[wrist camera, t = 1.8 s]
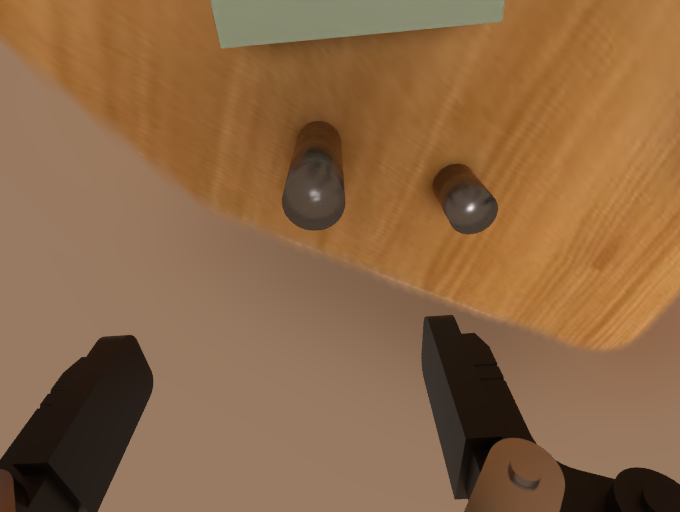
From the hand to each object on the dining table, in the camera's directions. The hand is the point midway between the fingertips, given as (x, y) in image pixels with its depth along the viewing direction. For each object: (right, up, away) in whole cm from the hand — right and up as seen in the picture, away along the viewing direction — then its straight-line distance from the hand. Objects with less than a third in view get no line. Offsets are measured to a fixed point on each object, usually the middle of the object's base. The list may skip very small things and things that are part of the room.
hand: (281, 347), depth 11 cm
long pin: (0, +11, +17) cm, 20 cm away
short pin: (+10, +8, +19) cm, 23 cm away
